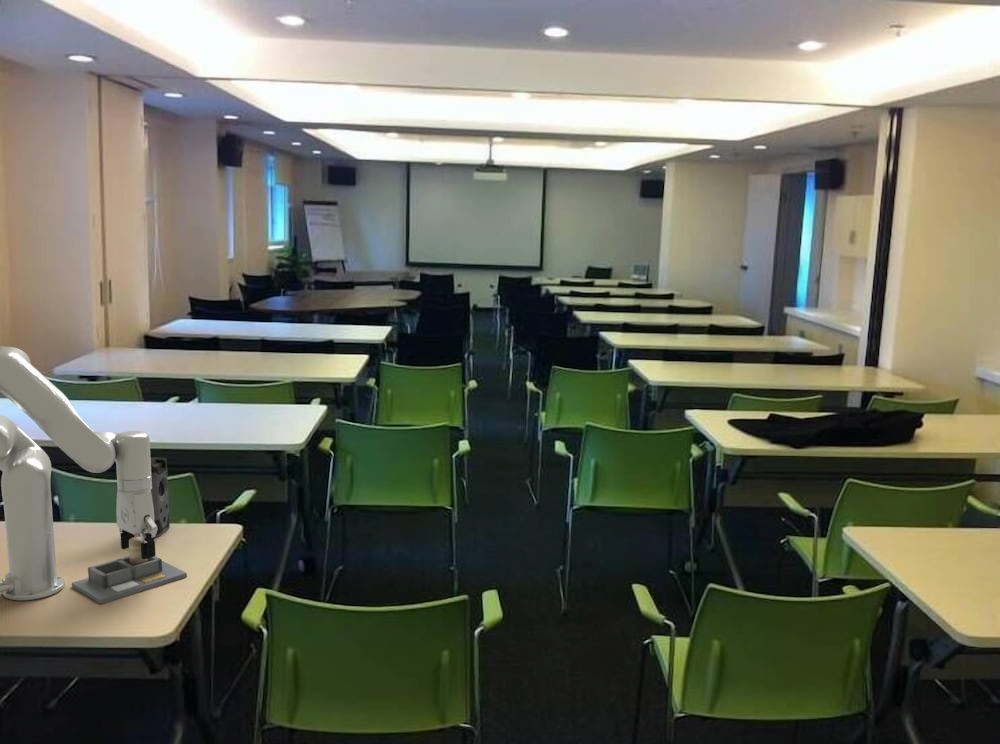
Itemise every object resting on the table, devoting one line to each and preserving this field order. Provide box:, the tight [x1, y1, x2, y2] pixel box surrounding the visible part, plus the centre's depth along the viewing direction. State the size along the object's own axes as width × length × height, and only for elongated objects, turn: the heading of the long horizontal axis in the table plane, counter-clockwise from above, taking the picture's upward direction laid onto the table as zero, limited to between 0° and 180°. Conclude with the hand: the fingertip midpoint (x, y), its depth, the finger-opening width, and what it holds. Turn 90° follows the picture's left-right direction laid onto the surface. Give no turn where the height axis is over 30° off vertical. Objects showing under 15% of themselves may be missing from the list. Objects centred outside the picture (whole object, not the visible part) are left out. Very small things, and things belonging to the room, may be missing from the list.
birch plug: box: [128, 536, 148, 566], centre depth 211 cm, size 4×4×8 cm
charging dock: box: [71, 555, 188, 605], centre depth 208 cm, size 21×14×4 cm, turn 140°
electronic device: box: [137, 456, 171, 538], centre depth 240 cm, size 9×6×20 cm, turn 179°
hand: (138, 552), depth 211 cm, fingers open, 9 cm apart
